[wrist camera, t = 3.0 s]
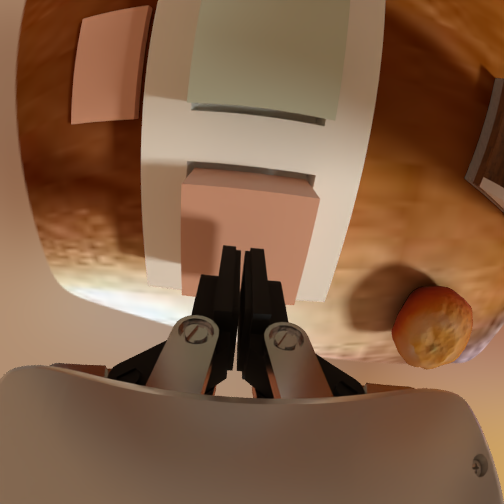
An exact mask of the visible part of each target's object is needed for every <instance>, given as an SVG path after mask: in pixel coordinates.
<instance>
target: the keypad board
mask: <svg viewBox="0 0 504 504" xmlns="http://www.w3.org/2000/svg"><path fill="white" fill-rule="evenodd" d="M200 5H201V0H158V3H157V8H156V13H155V18H154V23H153V28H152V34H151V40H150V47H149V54H148V61H147V69H146V78H145V88H144V100H143V115H142V135H141V201H142V223H143V238H144V251H145V261H146V271H147V280H148V286H153V287H161V288H169V289H178V290H182V281H181V185H182V183H183V181H184V180H185V179H186V178H187V177H188V175H189V174H190V173H191V172H192V171H193V169H194V168H209V169H221V170H232V171H242V172H251V173H260V174H269V175H276V176H284V177H291V178H298V179H305V180H307V181H308V183H309V184H310V185H311V187H312V188H313V190H314V191H315V192H316V194H317V195H318V196H319V198H320V202H319V207H318V211H317V216H316V220H315V225H314V229H313V233H312V237H311V241H310V246H309V250H308V254H307V258H306V262H305V266H304V270H303V273H302V277H301V281H300V285H299V289H298V292H297V296H296V300H301V301H318V302H325V299H326V296H327V293H328V290H329V287H330V284H331V281H332V278H333V275H334V272H335V269H336V266H337V262H338V259H339V256H340V253H341V249H342V246H343V243H344V239H345V236H346V232H347V229H348V225H349V222H350V218H351V214H352V211H353V207H354V203H355V199H356V195H357V191H358V187H359V183H360V179H361V174H362V170H363V165H364V161H365V156H366V151H367V147H368V142H369V137H370V131H371V126H372V120H373V115H374V109H375V102H376V96H377V89H378V82H379V74H380V66H381V57H382V47H383V36H384V21H385V0H350V10H349V22H348V32H347V41H346V50H345V58H344V66H343V74H342V81H341V88H340V94H339V101H338V107H337V114H336V120H335V121H334V120H329V119H323V118H318V117H312V116H307V115H302V114H296V113H290V112H284V111H277V110H270V109H262V108H254V107H245V106H234V105H221V104H203V103H188V102H187V95H188V86H189V77H190V69H191V61H192V54H193V47H194V40H195V34H196V28H197V22H198V16H199V11H200Z"/></svg>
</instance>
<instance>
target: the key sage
mask: <svg viewBox="0 0 504 504" xmlns="http://www.w3.org/2000/svg"><path fill="white" fill-rule="evenodd" d="M349 10H350V0H201V5H200V11H199V16H198V22H197V28H196V34H195V40H194V47H193V54H192V61H191V69H190V77H189V86H188V95H187V102H188V103H203V104H221V105H234V106H245V107H254V108H262V109H270V110H277V111H284V112H290V113H296V114H302V115H307V116H312V117H318V118H323V119H329V120H334V121H335V120H336V114H337V107H338V101H339V94H340V88H341V81H342V74H343V66H344V58H345V50H346V41H347V32H348V22H349Z"/></svg>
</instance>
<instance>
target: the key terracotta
mask: <svg viewBox="0 0 504 504" xmlns="http://www.w3.org/2000/svg"><path fill="white" fill-rule="evenodd" d="M319 202H320V198H319V196H318V195H317V194H316V192H315V191H314V190H313V188H312V187H311V185H310V184H309V183H308V181H307V180H305V179H298V178H291V177H284V176H276V175H269V174H260V173H251V172H242V171H232V170H221V169H209V168H194V169H193V171H192V172H191V173H190V174H189V175H188V177H187V178H186V179H185V180H184V181H183V183H182V185H181V281H182V295H186V296H195V297H196V293H197V289H198V285H199V280H200V276H201V274H204V275H214V276H219V269H220V262H221V255H222V249H223V245H227V246H236V250H241V271H240V289H241V280H242V272H243V264H244V255H245V251H250V248H259V249H264V253H265V261H266V270H267V278H268V280H271V281H280V282H281V284H282V290H283V295H284V301H285V305H294V303H295V300H296V296H297V292H298V289H299V285H300V281H301V277H302V273H303V270H304V266H305V262H306V258H307V254H308V250H309V246H310V241H311V237H312V233H313V229H314V225H315V220H316V216H317V211H318V207H319Z"/></svg>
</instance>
